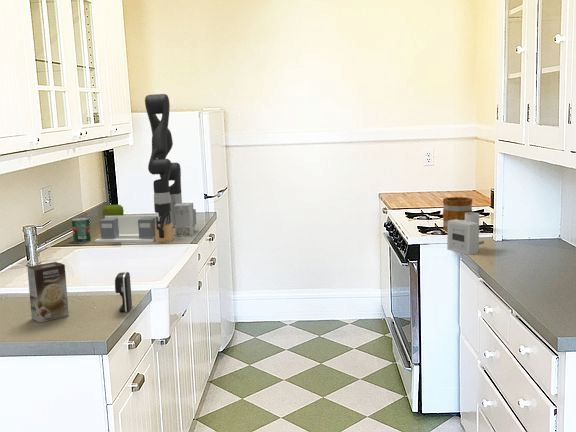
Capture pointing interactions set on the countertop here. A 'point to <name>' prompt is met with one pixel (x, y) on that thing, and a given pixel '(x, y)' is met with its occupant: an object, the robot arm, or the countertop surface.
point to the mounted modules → (112, 230)
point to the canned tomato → (81, 230)
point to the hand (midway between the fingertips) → (164, 236)
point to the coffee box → (48, 291)
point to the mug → (455, 209)
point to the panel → (128, 228)
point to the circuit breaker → (184, 219)
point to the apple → (113, 210)
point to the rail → (126, 237)
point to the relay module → (165, 233)
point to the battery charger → (124, 290)
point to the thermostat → (464, 234)
